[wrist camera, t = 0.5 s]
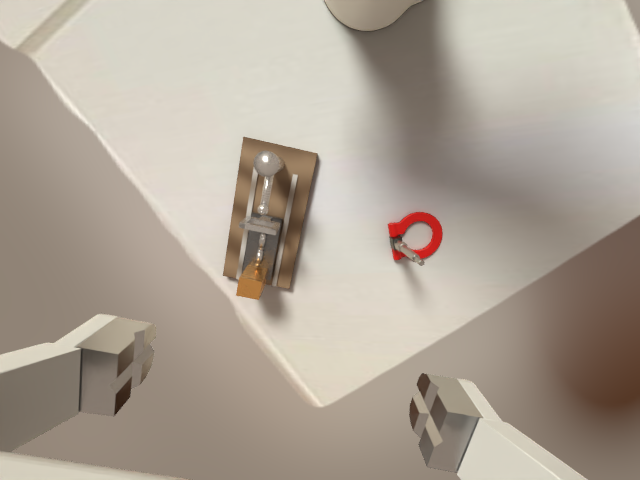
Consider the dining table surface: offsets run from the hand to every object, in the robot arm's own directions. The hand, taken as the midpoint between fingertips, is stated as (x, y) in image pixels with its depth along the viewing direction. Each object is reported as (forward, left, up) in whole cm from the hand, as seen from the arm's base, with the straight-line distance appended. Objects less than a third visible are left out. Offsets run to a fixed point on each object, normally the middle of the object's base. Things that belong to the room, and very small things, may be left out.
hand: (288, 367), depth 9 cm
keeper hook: (-2, -7, -42) cm, 43 cm away
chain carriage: (+10, -7, -42) cm, 43 cm away
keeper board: (+4, -7, -44) cm, 44 cm away
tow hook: (+2, +19, -44) cm, 48 cm away
